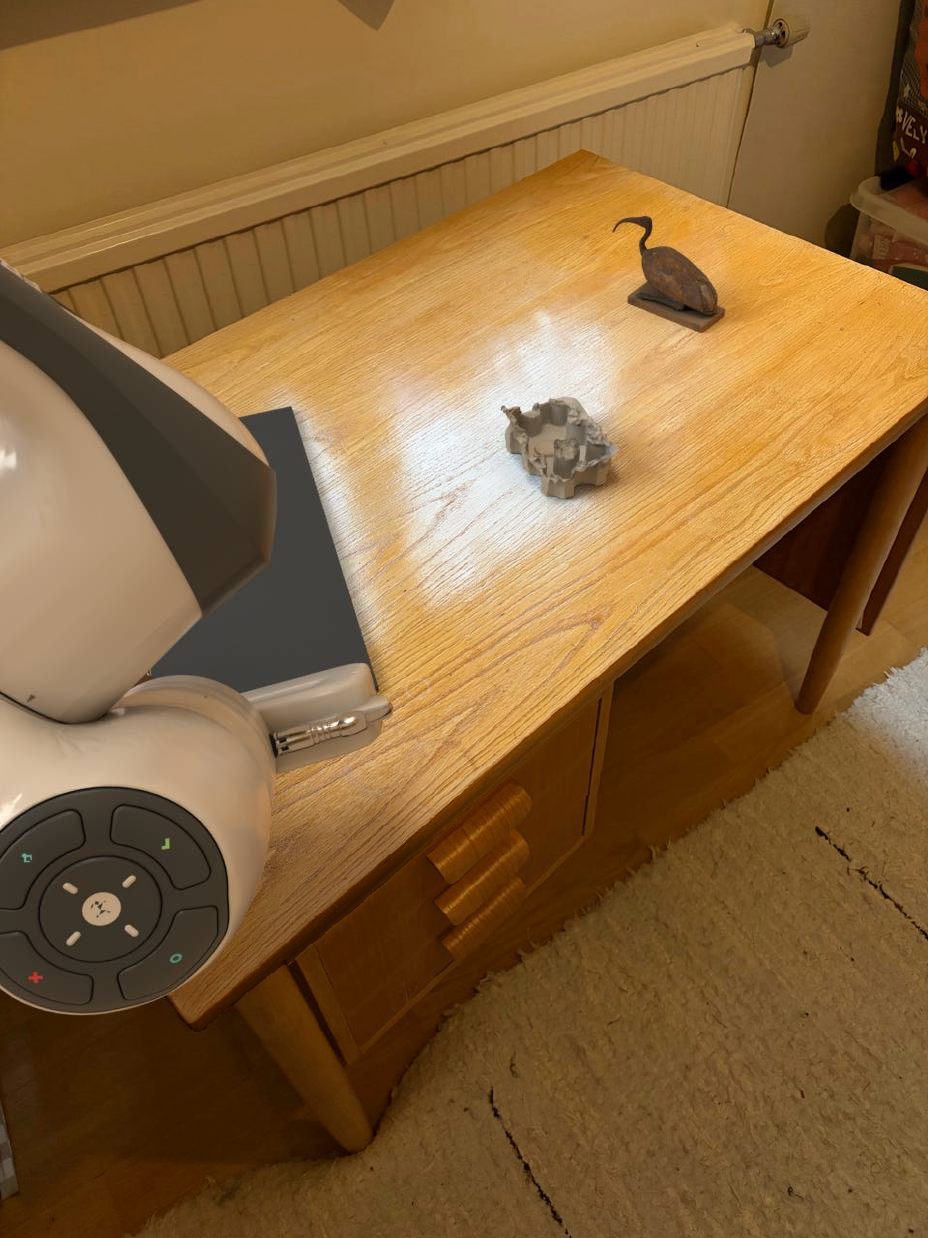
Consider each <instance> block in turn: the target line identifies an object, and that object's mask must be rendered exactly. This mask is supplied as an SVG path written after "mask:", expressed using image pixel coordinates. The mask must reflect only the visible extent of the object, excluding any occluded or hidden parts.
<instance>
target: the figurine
mask: <svg viewBox="0 0 928 1238" xmlns="http://www.w3.org/2000/svg"><path fill="white" fill-rule="evenodd" d="M625 223H630V224H635V225H637V226H639V227H641V228H643V229H644V231H645V232H644V234H643V235H642V236H641V238H640V240H639V242H638V249H639V253H640V256H641V259H640V261H641V262H640V263H641V264H640V265H641V269H642V272H643V276H644V279H645V280H646V282H644V283H643V284H642V285H641V286H639V287H638V288H636V289H635V290H634V291H632V292H631V293H630V294H628V296H627V298H626V299H627V302H626V303H627V304H630V305H632V306H635V307H637V308H639V309H642V310H645V311H647V312H649V313H652V314H654V315H656V316H660V318H664V319H666V320H668V321H672V322H673V323H676V324H678V325H681V326H683V327H686V328H688V329H691V330H692V331H696V332H699V333H703V332H704V331H706V330H707V329H708V328H710V327H711V326H712V325H714V324H715V323H716V322H718V321H719V320H720V319H721V318H722V317H724V316H725V313H726V308H724V307H722V306H719V305H718V303H719V298H718V293H717V290H716V288H715V286H714V285H713V283H712V281H710V278H709V277H708V276H707V275H706V274H705V273H704V272H703V271H702V270H701V269H700V268H699V267H698V266H697V265H696V264H695V263H693V262H692V260H690V259H689V258H688V257H687V256H686V255H684V254H683V253H681V252H680V251H679V250H677V249H676V248H674V247H671V246H666V245H663V246H662V245H659V246H654V247H651V248H647V246H646V242H647V240H648V239H649V238H650V236H651V235H652V232H653V219H652V217H650V216H648V215H642V216H631V217H625V218H622V219H621V220H619V221H618V222H616V224H615V225H614V227H613V229H612V233H613V234H614V233H615V231H616V230H617V228H618V227H619V226H620V225H621V224H625Z"/></svg>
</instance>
